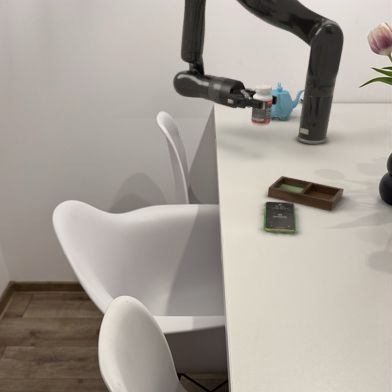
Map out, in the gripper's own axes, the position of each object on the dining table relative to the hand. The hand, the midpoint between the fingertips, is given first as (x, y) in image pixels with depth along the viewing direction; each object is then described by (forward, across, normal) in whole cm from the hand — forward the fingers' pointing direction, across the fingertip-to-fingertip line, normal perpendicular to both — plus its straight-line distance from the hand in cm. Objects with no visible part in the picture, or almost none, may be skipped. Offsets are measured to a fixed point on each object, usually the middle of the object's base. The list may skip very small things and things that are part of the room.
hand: (269, 102), depth 139 cm
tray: (+26, -15, +16) cm, 33 cm away
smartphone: (+29, -29, +16) cm, 44 cm away
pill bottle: (-2, 0, +6) cm, 7 cm away
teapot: (-23, +36, +16) cm, 46 cm away
